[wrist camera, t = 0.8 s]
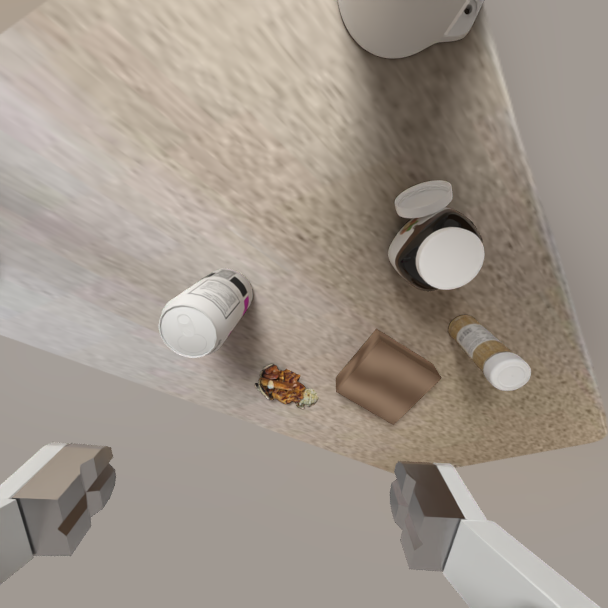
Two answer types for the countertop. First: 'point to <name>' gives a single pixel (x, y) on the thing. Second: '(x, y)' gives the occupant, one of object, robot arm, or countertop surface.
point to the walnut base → (386, 377)
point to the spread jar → (434, 240)
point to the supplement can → (205, 313)
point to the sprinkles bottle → (490, 354)
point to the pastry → (284, 387)
